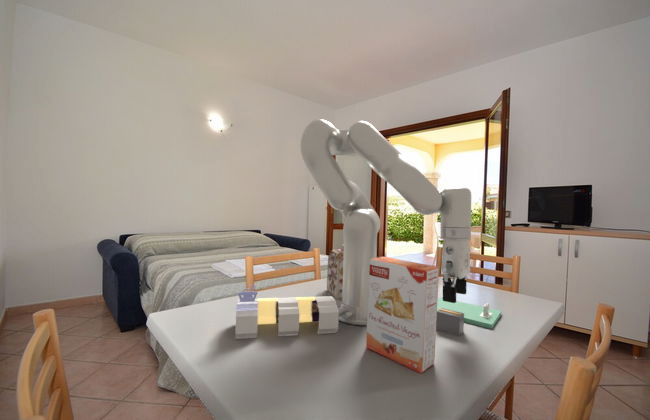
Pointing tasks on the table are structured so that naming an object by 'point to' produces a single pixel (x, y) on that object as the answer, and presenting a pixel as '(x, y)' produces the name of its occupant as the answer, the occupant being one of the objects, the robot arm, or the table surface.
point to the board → (473, 312)
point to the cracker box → (403, 311)
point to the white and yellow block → (284, 314)
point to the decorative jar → (335, 272)
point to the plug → (450, 321)
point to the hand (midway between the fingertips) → (454, 297)
